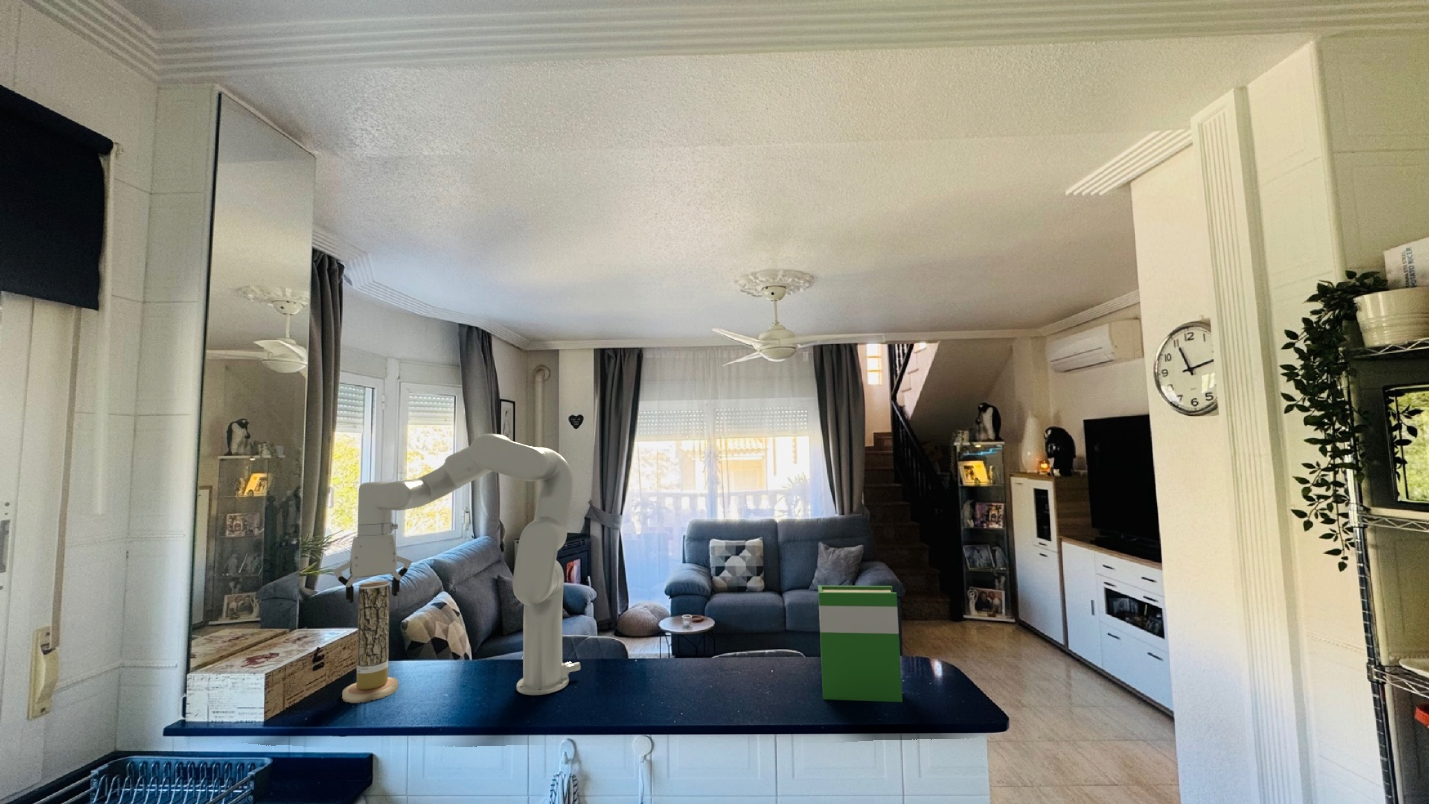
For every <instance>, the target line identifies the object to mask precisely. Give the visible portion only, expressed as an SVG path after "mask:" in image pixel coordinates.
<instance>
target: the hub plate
mask: <svg viewBox="0 0 1429 804" xmlns="http://www.w3.org/2000/svg"><path fill="white" fill-rule="evenodd" d="M356 684H357V682H355V683H351V684H350V685H348V686H346V687H344V689H343V690H342V693H341V694H342V697H341V699H343V700H342V701H343V702H345V703H348V702H349V703H350V704H360V702H362V703H367V702H368V703H369V702H372V701H371V700H373V701H375V700H374V699H377V700H380V699H383V698H386V697H388V696H391V695H392V694H394V693H395V692H397V690H398V689H399V679H397V678H395V677H390V676H388V681H387V683H386V684H385V685H383V686H381V687H379V688H375V689H371V690H360V689H358V688H357V686H356ZM385 696H386V697H385Z"/></svg>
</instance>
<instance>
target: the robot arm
mask: <svg viewBox="0 0 1429 804" xmlns="http://www.w3.org/2000/svg"><path fill="white" fill-rule="evenodd" d="M493 472H494V473H497V474H501V475H503V476H507V477H510V478H513V479H517V480H519V481H520V480H521V481H524V482H535V481H539V483H540V486H539V487H540V488H539V492H538V495H537V501H536V508H535V513H534V519H533V521H531V522H529V523H528V524H526V526H525V527H524V529H523V530H522V532H521V534H520V537H519V539H518V545H517V550H516V559H515V564H514V570H513V576H512V590H513V593H514V596H515V597H516V599H517V600H518V601H519V602H520V603H521V604H523V615H522V616H523V618H522V619H523V620H522V621H523V622H522V623H523V624H522V625H523V627H522V629H523V630H522V631H523V632H522V635H523V636H522V637H523V641H522V642H523V643H522V645H523V646H522V648H523V649H522V650H523V651H522V652H523V654H522V656H523V658H522V659H523V660H522V663H523V665H522V667H523V668H522V671H523V673H522V675H523V677H522V678H520V679H519V680H518V682H517V683H516V691H517V692H518V693H520V694H522V695H527V696H543V695H548V694H552V693H555V692H558V691H560V690H562V689H564V688H565V687H566V686H568V684H569V681H570V679H569V674H570V673H571V672H576V671H580V670H581V663H580V662H579V661H578V662H574V663H572V662H571V661H569V662H568V661H567V662H563V600H564V599H563V597H564V587H565V586H564V585H565V575H564V570H563V567H562V565H561V564H560V562H559V561H558V560H557V557H558V551H559V550H560V549H561V548H562V547H564V545H565V543H566V540H567V536H568V526H569V522H570V521H569V520H570V519H569V518H570V513H571V504H572V496H573V489H574V488H573V487H574V479H573V471H572V469H571V467H570V465H569V463H568V461H567V460H566V459H565V458H564V457H563V456H562V455H561V454H560V453H558V452H556V451H555V450H553V449H551V448H548V447H540V446H538V447H535V446H529V445H527V444H524V443H523V444H522V443H519V442H516V441H512V440H511V439H510V438H509V437H507V436H505V435H504V434H499V433H498V434H497V433H484V434H480V435H478V436H477V437H476V438H475V439H473V440H472V442H471V443H470V445H469V446H467V447H465V448H463V449H461V450H459V451H457V452H454V453H452V454H450V455H448V456H447V457H445V460H444V463H443V464H442V465H441V466H440V467H438V468H436V469H434V470H432V471H431V472H429V473H426V474H424V475H422V476H420V477H418V478H415V479H404V480H397V481H391V482H388V481H368V482H363V483H361V484H360V485H359V487H358V499H357V502H358V503H357V504H358V505H357V530H356V531H357V536H354V537H353V539H352V541H351V549H350V555H349V558H350V559H349V560H348V561H347V562H345V563H343V564H342V565H340V566H338V567H336V568H335V569H333V570H332V572H333V574H334V576H335V577H336V579H337V581H338V582H340V583H341V584H343V585H344V586H345V600H347V601H348V603H349V604H353V603H354V598H355V597H354V596H355V594H354V590H355V588H354V587H355V586H353V584H354V583H355V582H356V581H357V580H358V579H362V578H369V577H376V576H378V577H379V576H383V575H391V576H392V579H391V595H392V596H393V597H398V593H400V590H401V589H400V588H401V587H400V585H401V584H400V583H401V580H402V578H403V577H404V576H405V575H406V574H407V573H408V570H409V568H410V567H411V565H412V563H413V561H412V560H411V559H408V558H405V557H402V556H399V555H397V554H398V553H397V544H396V538H395V537H396V536H395V534H394V533H392V532H393V531H394V530H398V526H399V525H398V523H393V522H392V519H393V518H392V516H393V515H392V514H393V511H398V512H399V511H405V510H410V509H415V508H421V507H423V506H425V505H428V504H430V503H432V502H435V501H437V500H438V499H441V498H443V497H445V496H447V495H449V494H451V493H452V492H454V491H456V490H457V489H461V488H462V487H464V486H465V485H467V484H469V483H471V482H473V481H475V480H477V479H479V478H482V477H483V476H485V475H488V474H489V473H493ZM398 562H399V563H401V564H403V565H402V568H401V569H400V570H399V571H397V568H398ZM347 569H349V575H350V576H348V578H346V577H345V576H344V575H343V574H342V573H343V572H344V571H346V570H347Z"/></svg>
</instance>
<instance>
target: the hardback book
mask: <svg viewBox="0 0 1429 804" xmlns="http://www.w3.org/2000/svg"><path fill="white" fill-rule="evenodd" d="M817 590H818V613H819V615H818V616H819V617H818V618H819V634H820V640H819V641H820V661H821V663H820V664H821V681H822V684H821V685H822V700H833V701H834V700H835V701H836V700H837V701H860V702H861V701H865V702H866V701H869V702H891V703H893V702H894V703H895V702H896V703H903V688H902V687H903V685H902V669H901V668H902V667H901V653H900V651H901V649H900V635H899V633H900V632H899V631H900V630H899V629H900V628H899V617H898V613H899V612H898V596H897V592H893V585H817Z"/></svg>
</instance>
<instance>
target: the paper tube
mask: <svg viewBox="0 0 1429 804" xmlns="http://www.w3.org/2000/svg"><path fill="white" fill-rule="evenodd" d="M390 585H391V584H390V581H389V580H377V581H369V582H364V583H361V584H359V585H358V603H357V604H358V607H357V608H358V609H357V610H358V611H357V643H356V644H357V648H356V683H357V684H356V686H357V688H358V689H360V690H371V689H375V688H379V687H381V686H383V685H385V684H386V683H387V681H388V677H389V647H390V646H389V643H390V641H389V640H390V639H389V638H390V637H389V636H390V635H389V634H390V597H391V596H390V593H391V591H390V589H391V586H390Z"/></svg>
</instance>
